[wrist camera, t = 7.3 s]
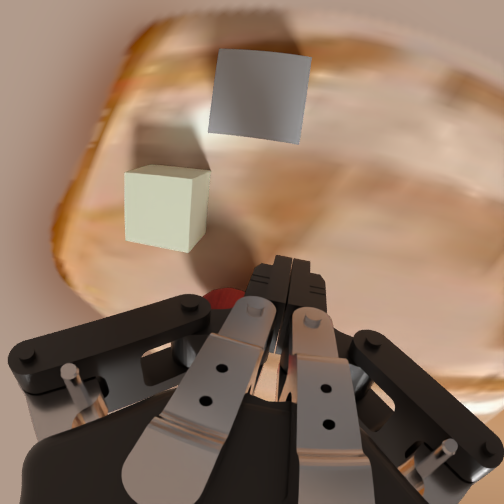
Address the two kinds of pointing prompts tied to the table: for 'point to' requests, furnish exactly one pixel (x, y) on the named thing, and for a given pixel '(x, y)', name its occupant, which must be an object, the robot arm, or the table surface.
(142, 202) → the sage block
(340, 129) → the table surface
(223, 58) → the slate block
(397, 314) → the table surface
